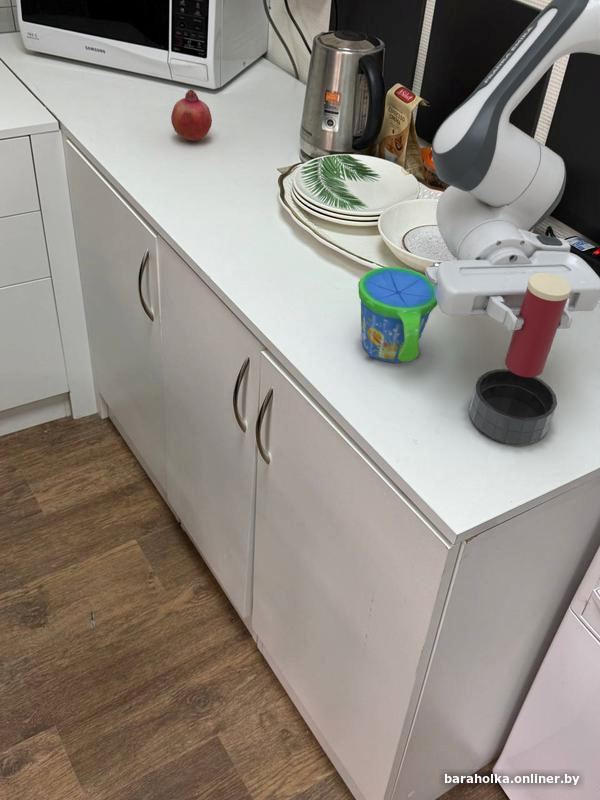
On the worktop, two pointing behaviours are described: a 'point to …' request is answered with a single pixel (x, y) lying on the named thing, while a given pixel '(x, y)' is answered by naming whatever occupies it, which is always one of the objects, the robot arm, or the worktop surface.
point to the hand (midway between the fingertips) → (541, 325)
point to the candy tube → (537, 324)
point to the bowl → (512, 407)
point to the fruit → (191, 117)
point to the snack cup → (394, 312)
